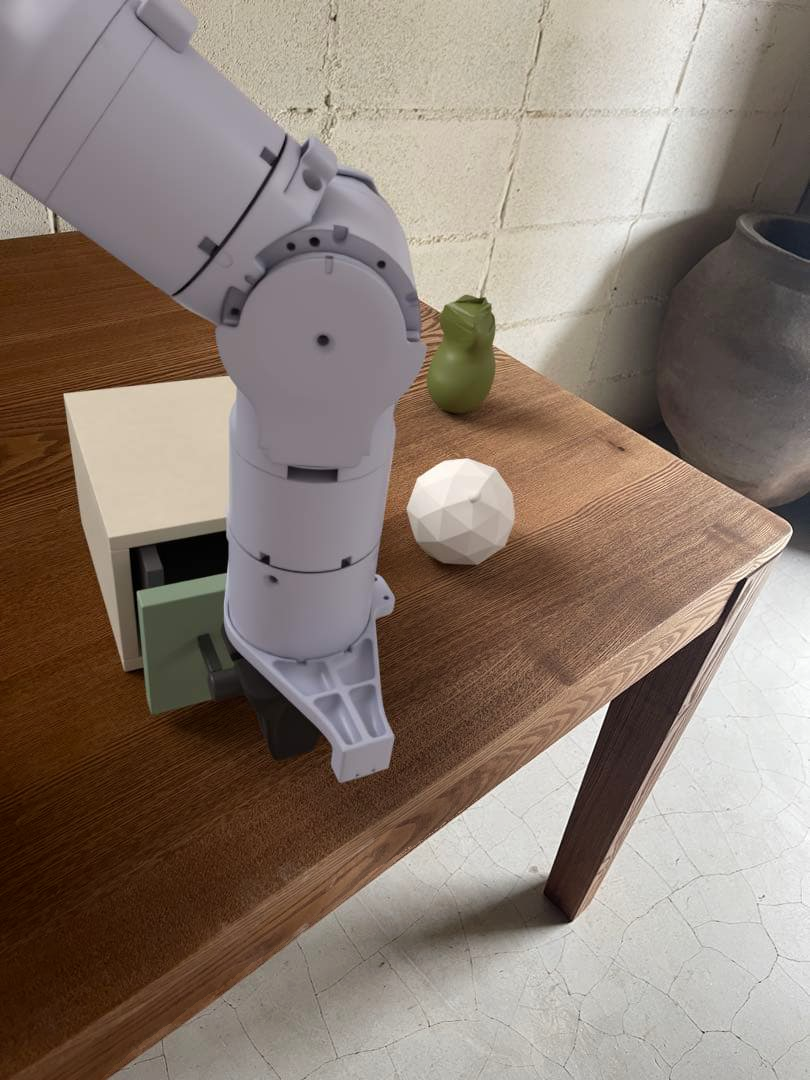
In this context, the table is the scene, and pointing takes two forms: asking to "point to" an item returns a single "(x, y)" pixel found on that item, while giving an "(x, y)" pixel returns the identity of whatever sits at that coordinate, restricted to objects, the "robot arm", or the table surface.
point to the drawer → (183, 621)
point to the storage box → (147, 478)
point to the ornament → (461, 512)
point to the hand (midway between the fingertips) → (290, 744)
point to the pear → (463, 356)
